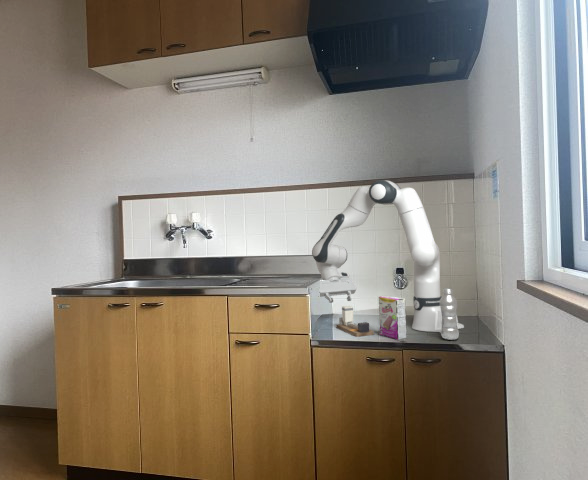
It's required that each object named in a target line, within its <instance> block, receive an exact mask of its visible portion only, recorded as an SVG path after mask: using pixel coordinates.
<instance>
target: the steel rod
mask: <svg viewBox="0 0 588 480" xmlns="http://www.w3.org/2000/svg"><path fill="white" fill-rule="evenodd" d="M347 326H349V327H351V328H354V329H357V330H358V332H360V333H363V332H369V330H370V323H369V322H367V321H366V322H365V321H364V322H357V323H354V322H353V321H352V322H347Z"/></svg>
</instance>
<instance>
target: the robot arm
mask: <svg viewBox="0 0 588 480" xmlns="http://www.w3.org/2000/svg"><path fill="white" fill-rule="evenodd" d="M377 204H379V205H383V206H386V205H387V206H388V205H394V206H395V208H396V210H397V213H398V216H399V218H400V221H401V222H400V223H401V224H402V227H403V230H404V234H405V238H406V242H407V245H408V248H409V249H408V250H409V253H410V255H411V258H412V259H411V260H412V261H414V265H413V266H414V267H413V268H414V271H413V293H414V295H413V300H412V301H413V308H414V311H413V320H412V325H411V329H413V330H415V331H421V332H435V333H441V327H442V315H441V308H440V299H441V298H442V296H441V281H440V280H441V277H440V276H441V275H440V274H441V257H440V255H441V254H440V253H441V251H440V248H439V246H438V244H437V243H436V242H435V239H434V235H433V231H432V229H431V225H430V222H429V219H428V217H427V213H426V210H425V207H424V205H423V202H422V200H421V197H420V196H419V194H418V192H417V191H416V190H415V188H413V187H403V188H401V186H400V185H399V184H398V183H396V182H393V181H391V180H385V179H379V180H376V181H374V182H373V183H372V184H371V185H370V186H367V185H363V186H359V187H358V188H357V189H356V191H355V192H354V193H353V195H352V197H351V198H350V199H349V202H348V204H347V206H346V207H345V208H344V209H343V211H342V212H340V213H339V214H337V215H336V216H334V218H333V219H332V220H331V222H330V224H328V226H327V228H326V229H325V231H324V233H323V234H322V236H321V237H320V239H318V241H317V242H315V244H314V245H313V247H312V250H311V255H312V257H313V259H314V261H315V262H316V268H317V269H318V271H319V274H320V277H321V279H319V280H320V289H319V293H320V297H321V298H322V297H324V298H325V299H326V300H327V301H328V302H329V303H332V304H333V303H334V299H333V297H334V296H341V295H343V296H344V295H347V297H346V300H347V302H351V301H352V296H351V295H354V294H355V293H356V291H357V286H356V284H355V282H354V281H353V279H352V278H351V277H350V274H349V273H348V272H343V271H340V270H338V269H340V268H341V267H342V266H344V264H345V263H346V261H347V260H348V252H347V249H346V248H345V247H343V246H341V245H336V244H332V243H333V241H335V239H336V238H337V236H338V234H339V233H340V232H341V231H342V230H345V229H349V228H357V227H359V226H362V225H363V224H364V223H365V222H366V221H367V219H368V217H369V215H370V213H371V212H372V210H373V208H374V207H375V205H377ZM331 296H332V297H331ZM456 320H457V328H458V330H459V329H464V328H465V325H464V324H462V323H459V320H458V315H457V314H456Z"/></svg>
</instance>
